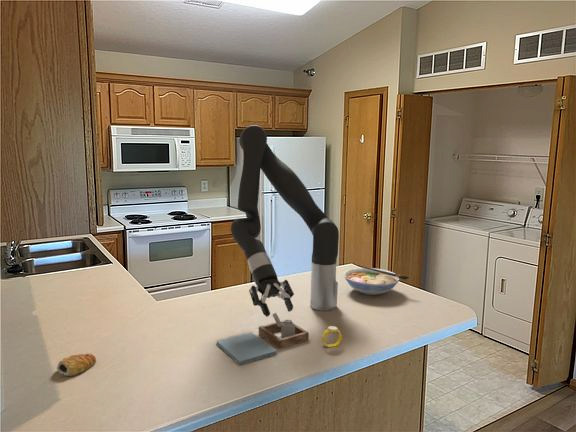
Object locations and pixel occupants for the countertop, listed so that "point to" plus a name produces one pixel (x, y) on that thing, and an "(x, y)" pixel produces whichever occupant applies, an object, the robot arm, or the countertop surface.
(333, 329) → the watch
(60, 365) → the pastry
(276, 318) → the lighter
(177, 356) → the countertop surface
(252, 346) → the slate board
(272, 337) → the frame
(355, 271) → the ramen bowl
